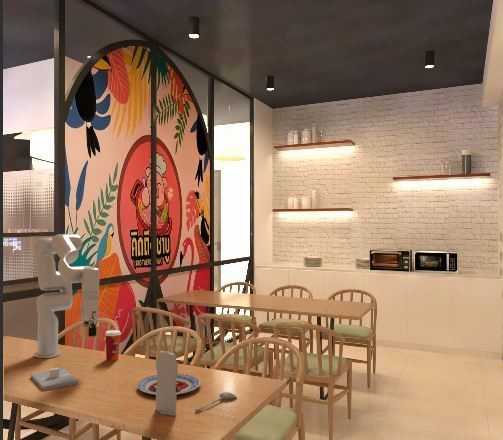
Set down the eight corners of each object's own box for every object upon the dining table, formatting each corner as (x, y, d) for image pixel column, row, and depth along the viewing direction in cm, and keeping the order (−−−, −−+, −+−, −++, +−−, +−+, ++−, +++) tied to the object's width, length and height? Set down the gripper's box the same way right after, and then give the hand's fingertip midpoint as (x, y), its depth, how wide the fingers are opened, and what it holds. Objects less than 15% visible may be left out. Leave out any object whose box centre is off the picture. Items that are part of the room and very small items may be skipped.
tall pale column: (180, 414, 167) (181, 352, 168) (172, 417, 164) (173, 355, 164) (159, 407, 173) (160, 347, 174) (151, 410, 170) (152, 350, 170)
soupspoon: (240, 400, 185) (227, 397, 188) (240, 391, 185) (227, 388, 189) (202, 415, 167) (189, 412, 171) (202, 406, 167) (189, 402, 171)
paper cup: (117, 362, 229) (118, 333, 229) (102, 361, 229) (102, 333, 229) (122, 357, 236) (122, 329, 237) (107, 357, 237) (107, 329, 237)
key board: (30, 377, 204) (31, 365, 204) (64, 371, 212) (64, 360, 212) (42, 390, 188) (43, 378, 188) (78, 383, 197) (78, 372, 197)
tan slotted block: (79, 336, 212) (80, 324, 212) (94, 334, 216) (94, 322, 216) (84, 339, 207) (84, 327, 207) (99, 337, 211) (99, 325, 211)
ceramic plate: (188, 402, 179) (188, 394, 179) (126, 396, 184) (126, 389, 184) (207, 381, 204) (207, 374, 204) (152, 376, 209) (152, 369, 209)
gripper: (75, 293, 216) (74, 331, 216) (88, 298, 203) (87, 339, 202) (91, 292, 221) (91, 329, 221) (105, 296, 207) (104, 337, 207)
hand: (89, 334), depth 212 cm, fingers closed on tan slotted block, 6 cm apart
